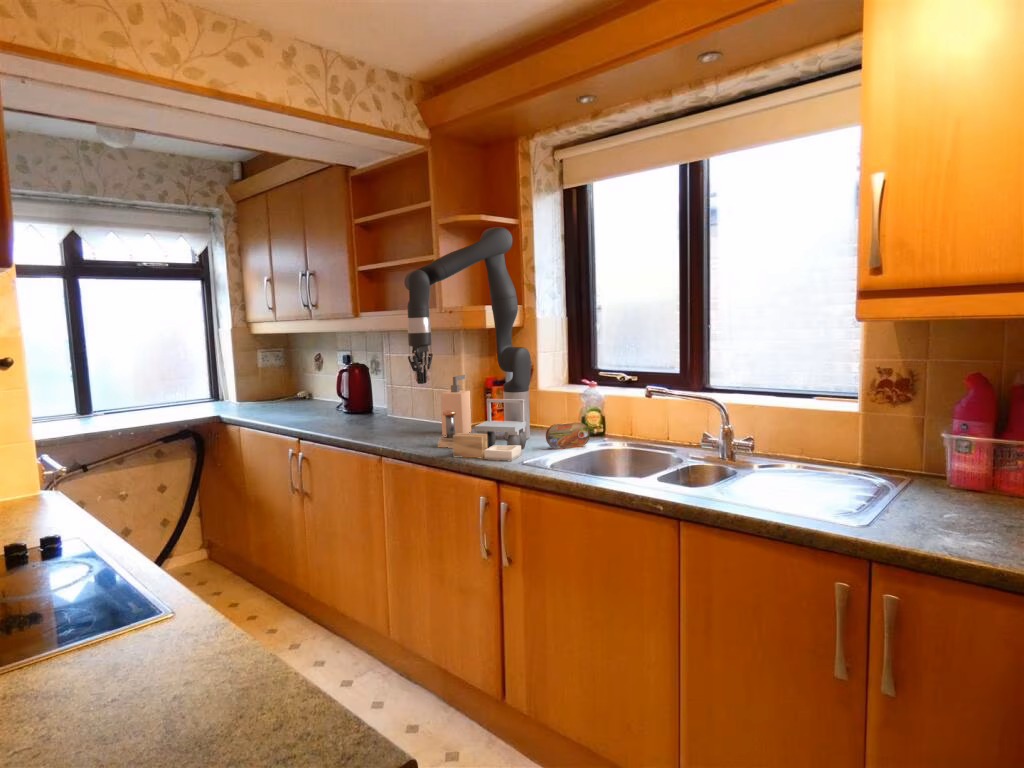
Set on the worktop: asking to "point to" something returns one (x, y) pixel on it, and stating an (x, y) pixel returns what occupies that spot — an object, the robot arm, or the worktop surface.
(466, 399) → the soap dispenser
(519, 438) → the trolley
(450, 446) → the pin block
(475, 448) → the block
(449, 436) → the pin
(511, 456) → the tray
